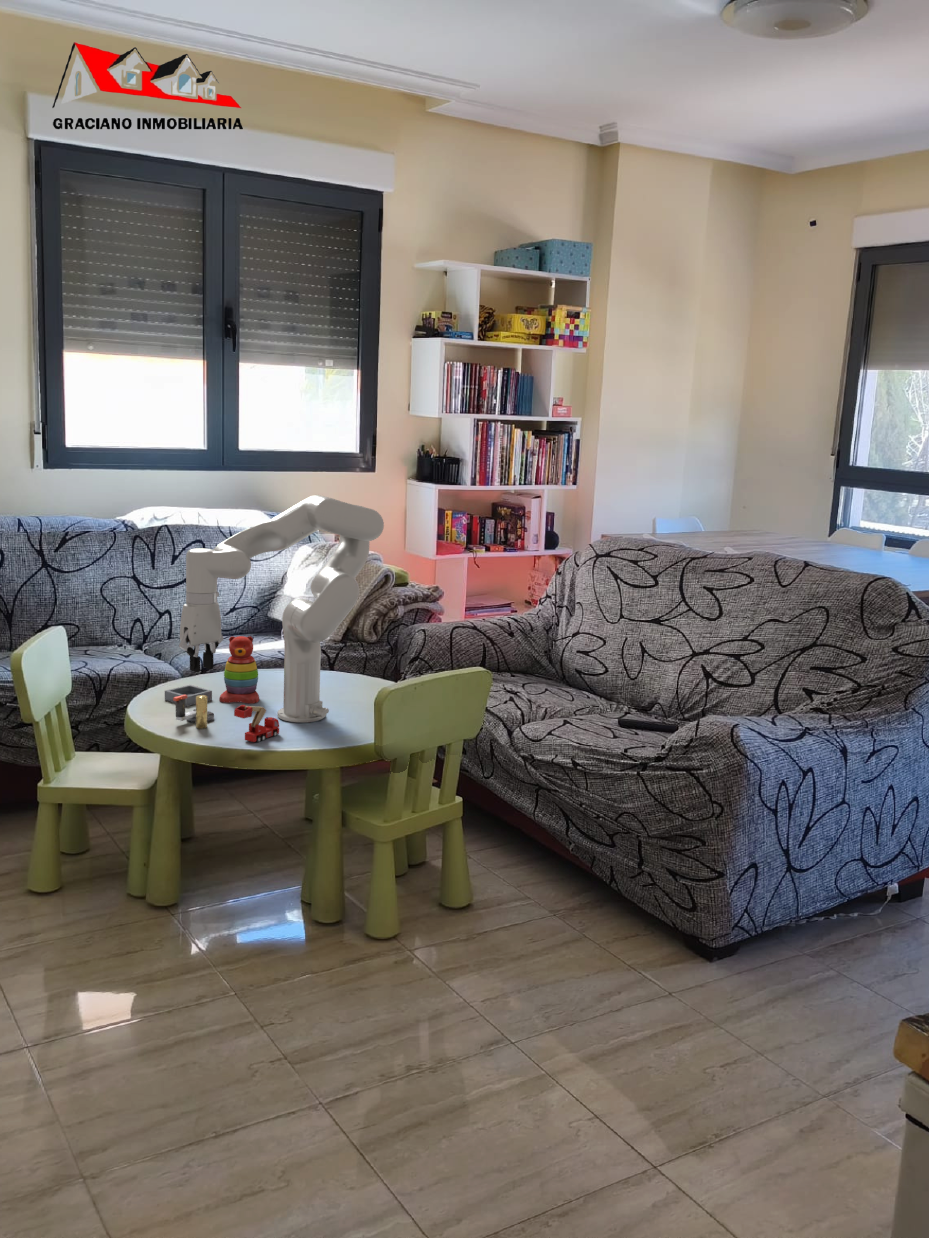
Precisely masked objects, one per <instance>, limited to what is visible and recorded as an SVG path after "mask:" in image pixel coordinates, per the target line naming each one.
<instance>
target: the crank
mask: <svg viewBox="0 0 929 1238" xmlns="http://www.w3.org/2000/svg"><path fill="white" fill-rule="evenodd" d="M186 698H187V695H181V696H177V697H174V698H173V701H176V703H175V718H176V719H175V720H176V721H180V722H182V721H187V719H190V718H193V717H196V708H194V709H193V710H190V711H187V712H186V706H185V699H186Z"/></svg>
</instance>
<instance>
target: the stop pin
mask: <svg viewBox="0 0 929 1238" xmlns="http://www.w3.org/2000/svg"><path fill="white" fill-rule="evenodd" d="M195 709H196V723H195V728H197V729H199V730H200V729H201V730H202V729H203V730H204V729H206V728H208V722H207V711H208V701H207V696H205V695H199V696H196V704H195Z"/></svg>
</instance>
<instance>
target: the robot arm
mask: <svg viewBox="0 0 929 1238" xmlns="http://www.w3.org/2000/svg"><path fill="white" fill-rule="evenodd" d="M384 523H385V522H384V519H383V516H382V515H381V514H380V513H379V512H378V511H377V510H375V509H373V508H368V507H365V506H362V505H357V504H352V503H349V502H345V501H341V500H337V499H335V498H332V497H329V496H324V495H319V494H315V495H310V496H309V497H307V498H304V499H303V500H301V501H299V502H298V503H296V504H294V505H292V506H291V507H290V508H288V509H286V510H285V511H283V512H281V513H278V515H276V516H274V517H273V518H270V519H268V520H266V521H263V522H261V523H258V524H256V525H254V526H251V527H249V528H246V529H244V530H241V531H240V532H238V533H235V534H234V535H232V536H230V537H228V538H227V539H225V540H224V541H222V542H221V543H219V544H218V545H217V546H215V547H214V548H213V549H211V548H205V547H204V548H198V547H196V548H191V549H188V550H187V552H186V555H185V573H186V574H185V579H186V580H185V581H186V582H185V597H186V598H185V599H186V600H185V601H186V602H185V604H183V605H182V610H181V615H180V625H179V626H180V627H179V640H180V642H179V645H178V647H179V649H181V650H183V651H185V652H186V653H187V655H188V656H189V671H191V672H195V673H200V672H201V656H200V655H199V651H200V645H203V646H204V651H203V652H202V668H205V669H209V670H214V655H215V654H216V652H217V651H216V649H217V648H218V646H219V645H220V643H222V642H223V641H224V640H225V639H224V636H223V634H222V618H221V615H222V614H221V610H220V603H219V602H218V597H220V593H219V591H218V579H229V580H231V579H232V580H239V579H242V578H244V577H246V576H247V575H248V574H249V573H250V570H251V569H252V561H251V559H252V558H254V557H257V556H258V555H260V554H266V553H269V552H278V551H283V550H287V549H289V548H291V547H292V546H295V544H297V543H299V542H301V541H302V540H304V539H305V538H307V537H309V536H311V535H312V534H314V533H316V532H317V531H320V530H321V531H323V532H327V533H331V534H335V535H338V536H339V541H338V542H339V543H338V545H337V547H336V549H335V550H334V552H333V553H332V555H331V556H330V557H329V559H328V560H327V561H326V562H325V564H324V565H322V567H321V569H320V570H318V572H317V573H316V574H315V576H314V577H313V579H312V581H311V584H310V591H311V593H312V595H313V597H315V600H314V601H311V600H308V599H305V598H304V599H303V598H302V599H301V598H299V599H294V600H292V601H291V602H289V603H288V604H287V605H286V606H285V608H284V610H283V613H282V619H281V620H282V621H281V623H282V631H283V632H282V633H283V641H284V653H283V654H284V655H283V656H284V658H283V661H284V664H283V667H284V668H283V707H281V708H280V709H278V711H276V713H277V718H278V719H280V720H282V721H285V722H290V723H291V722H292V723H313V722H318V721H321V720H323V719H324V718H325V717H327V714H329V712H330V711H329V710H330V709H329V708H328V707H327V708H326V707H323V700H320V699H321V698H320V697H321V696H320V695H321V694H320V693H321V690H320V689H321V659H322V657H321V656H322V651H321V649H322V648H321V647H322V646H321V643H322V642H324V641H326V640H328V638H330V637H331V636H332V634H334V633H335V631H337V629H338V628H339V626H340V625H341V624H342V623H343V621H344V620H345V619H346V617H347V616H348V615H349V613H350V612H351V611H352V610H353V608H354V607H355V605H356V604H357V602H358V599H359V596H360V587H359V586H360V585H359V582H358V581H357V580H356V578H357V576H358V575H359V574H360V572H361V570H363V568H364V566H365V565H366V563H367V560H368V558H369V555H370V554H369V553H370V542H372V541H374V540H377V539H378V538H379V537H380V536H381V535H382V534H383V531H384V527H385V525H384Z"/></svg>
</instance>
